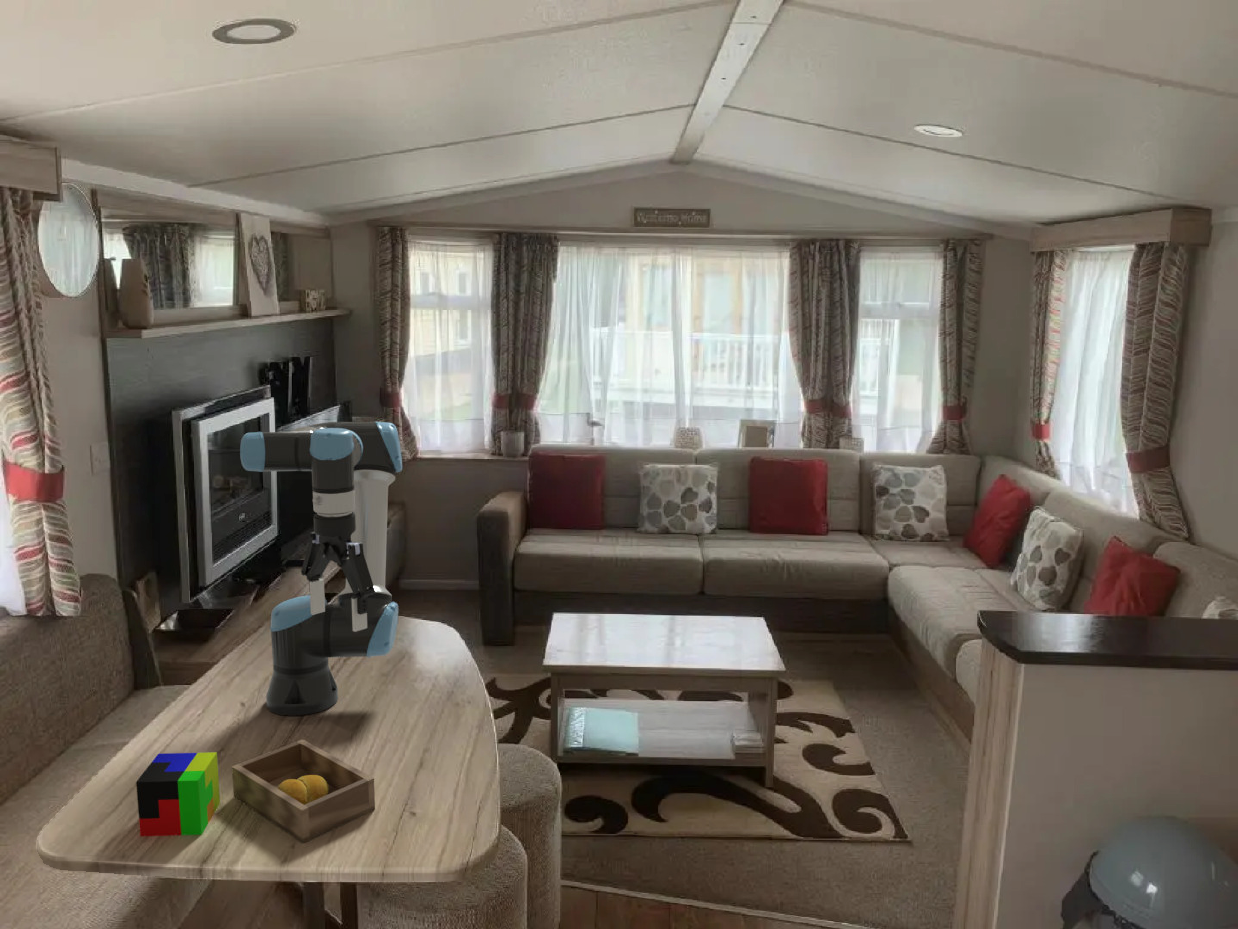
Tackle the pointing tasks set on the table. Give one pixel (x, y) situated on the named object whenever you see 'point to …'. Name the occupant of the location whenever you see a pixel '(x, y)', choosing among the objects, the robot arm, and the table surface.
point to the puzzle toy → (178, 794)
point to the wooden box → (303, 822)
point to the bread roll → (305, 788)
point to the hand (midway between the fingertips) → (338, 621)
